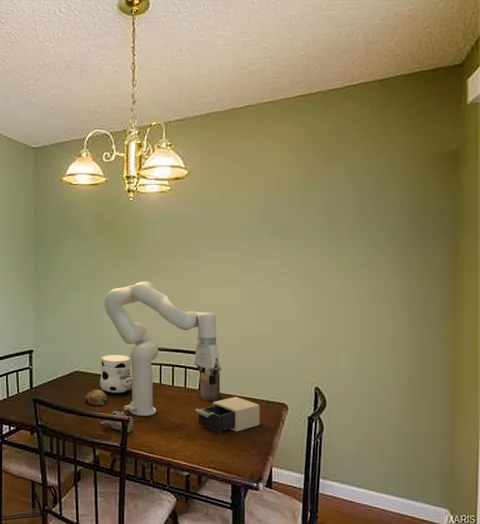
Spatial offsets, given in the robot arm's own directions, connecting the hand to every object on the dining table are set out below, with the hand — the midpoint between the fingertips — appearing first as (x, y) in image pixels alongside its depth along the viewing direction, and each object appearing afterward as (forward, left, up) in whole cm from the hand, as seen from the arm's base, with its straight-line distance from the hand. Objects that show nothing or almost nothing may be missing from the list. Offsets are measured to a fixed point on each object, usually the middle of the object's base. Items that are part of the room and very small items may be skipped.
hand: (208, 382), depth 185 cm
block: (0, 0, 0) cm, 0 cm away
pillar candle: (+26, +24, -18) cm, 40 cm away
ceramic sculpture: (-38, +14, -18) cm, 44 cm away
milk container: (-9, +58, -18) cm, 61 cm away
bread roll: (-28, +48, -18) cm, 58 cm away
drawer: (-2, -6, -17) cm, 18 cm away
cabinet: (+10, -6, -18) cm, 21 cm away
